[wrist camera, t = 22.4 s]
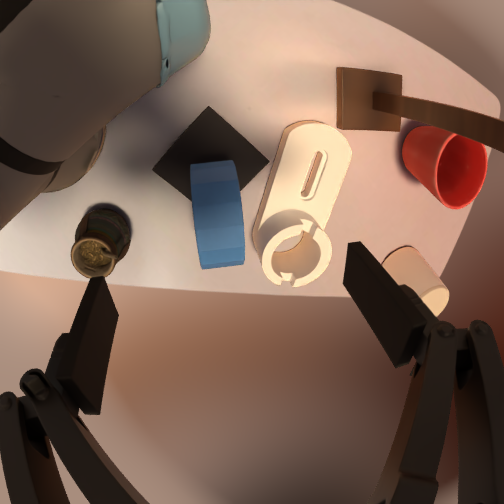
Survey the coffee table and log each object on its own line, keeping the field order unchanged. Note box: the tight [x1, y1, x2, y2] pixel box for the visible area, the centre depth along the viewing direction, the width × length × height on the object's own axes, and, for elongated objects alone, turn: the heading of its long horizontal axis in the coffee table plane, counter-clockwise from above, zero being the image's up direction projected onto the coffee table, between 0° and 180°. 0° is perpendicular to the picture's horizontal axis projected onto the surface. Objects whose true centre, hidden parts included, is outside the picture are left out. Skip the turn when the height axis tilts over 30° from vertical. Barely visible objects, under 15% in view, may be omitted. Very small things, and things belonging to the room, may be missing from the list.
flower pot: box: [402, 126, 487, 209], centre depth 35 cm, size 11×11×10 cm
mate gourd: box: [71, 209, 131, 279], centre depth 33 cm, size 7×8×10 cm
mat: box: [153, 106, 269, 201], centre depth 36 cm, size 10×10×1 cm
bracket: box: [252, 121, 352, 287], centre depth 37 cm, size 20×9×7 cm, turn 164°
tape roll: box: [190, 160, 245, 269], centre depth 33 cm, size 4×11×11 cm
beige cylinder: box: [382, 247, 449, 317], centre depth 46 cm, size 11×9×10 cm
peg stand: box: [337, 67, 504, 153], centre depth 19 cm, size 17×8×35 cm, turn 93°
